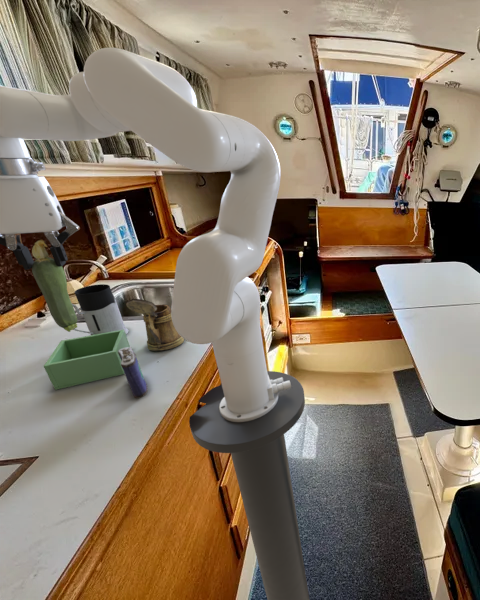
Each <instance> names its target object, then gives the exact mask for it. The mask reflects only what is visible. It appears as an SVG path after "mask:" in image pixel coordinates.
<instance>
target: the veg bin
mask: <svg viewBox="0 0 480 600" xmlns="http://www.w3.org/2000/svg"><path fill="white" fill-rule="evenodd" d="M125 347H131V345H130V342H129V338H128V336H127V334H125V331H124V330H118V331H113V332H107V333H101V334H96V335H91V334H90V335H85V336H80V337H79V336H78V337H74V338H67V339H62V340H60V342H59V343H58V344H57V346H56V348H55V349H54V350H53V352H52V353H51V355H50V356H49V357H48V359H47V360H46V362H45V363H44V365H43V368H44V370H45V373H46V375H47V377H48V379H49V380H50V382H51V385H52V386H53V388H54V390H55V391H57V390H61V389H65V388H69V387H73V386H78V385H82V384H87V383H91V382H96V381H100V380H105V379H109V378H114V377H117V376H121V375H125V373H124V370H123V368H122V366H121V362H122V361H121V358H120V356H119V354H118V351H119V350H120V349H122V348H125Z"/></svg>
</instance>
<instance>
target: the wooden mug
mask: <svg viewBox="0 0 480 600" xmlns="http://www.w3.org/2000/svg"><path fill="white" fill-rule="evenodd" d="M125 305H126V307H127V308H128V309H129V310H130V311H132V312H134V313H137V314H141V315H143V317H142V318H143V322H144V324H145V331H146V337H147V340H146V345H147V350H149V351H153V352H163V351H169V350H172V349H176V348H177V347H179V346H181V345H182V344H183V343H184V341H185V339H184V338H183V337H181V336H180V335H179V333H178V332H177V331H176V329H175V327H174V325H173V322H172V316H171V307H170V305H168V304H155V303H154V302H152V301H151V300H150V301H149V300H145V299H140V298H131V299H129V300H128V301H126V303H125Z"/></svg>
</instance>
